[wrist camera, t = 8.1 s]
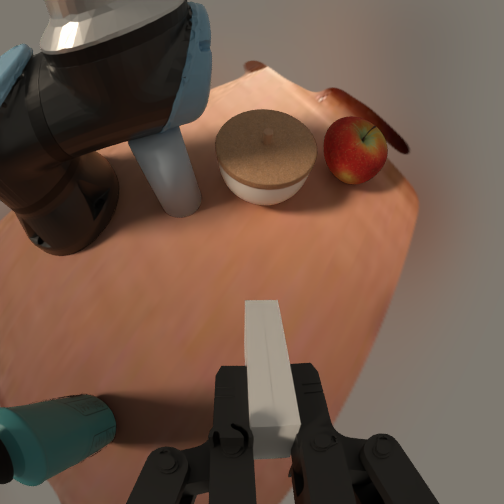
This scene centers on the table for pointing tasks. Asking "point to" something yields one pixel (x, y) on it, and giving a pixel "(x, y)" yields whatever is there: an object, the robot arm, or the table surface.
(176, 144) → the post
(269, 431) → the robot arm
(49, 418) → the beverage bottle
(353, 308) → the table surface
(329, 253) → the table surface
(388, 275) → the table surface
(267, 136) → the lidded jar
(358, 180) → the apple
